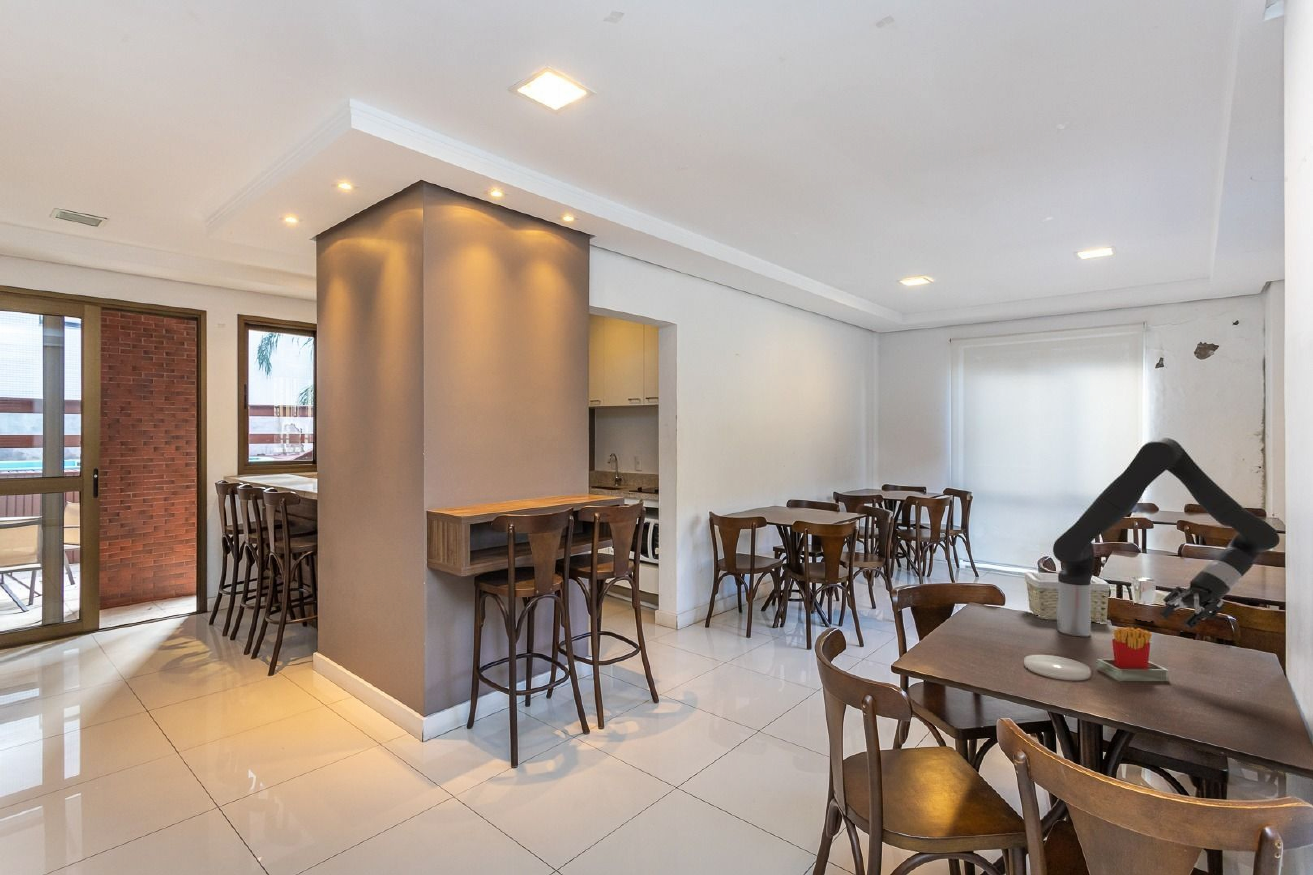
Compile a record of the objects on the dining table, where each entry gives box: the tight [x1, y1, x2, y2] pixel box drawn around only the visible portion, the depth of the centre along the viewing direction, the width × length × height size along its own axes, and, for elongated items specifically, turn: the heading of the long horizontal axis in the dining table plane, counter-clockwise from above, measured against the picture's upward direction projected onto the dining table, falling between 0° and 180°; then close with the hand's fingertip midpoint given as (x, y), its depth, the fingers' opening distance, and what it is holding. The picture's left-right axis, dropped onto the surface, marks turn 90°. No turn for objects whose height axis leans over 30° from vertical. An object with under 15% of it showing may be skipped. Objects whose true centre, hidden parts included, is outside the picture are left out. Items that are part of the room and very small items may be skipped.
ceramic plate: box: [1023, 654, 1092, 681], centre depth 177 cm, size 16×16×2 cm
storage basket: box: [1024, 571, 1111, 623], centre depth 231 cm, size 24×16×15 cm
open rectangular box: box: [1096, 658, 1170, 682], centre depth 173 cm, size 9×14×3 cm, turn 89°
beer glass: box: [1130, 576, 1157, 605], centre depth 225 cm, size 7×7×15 cm
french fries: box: [1111, 626, 1153, 669], centre depth 173 cm, size 9×4×13 cm, turn 82°
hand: (1174, 621), depth 173 cm, fingers open, 8 cm apart
